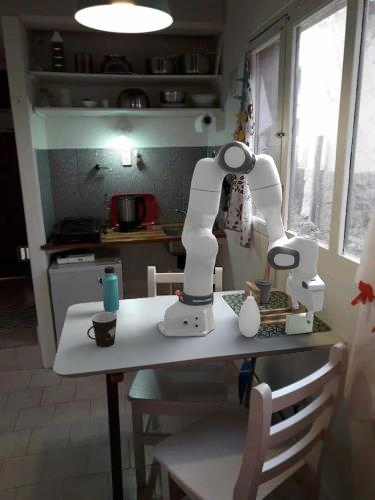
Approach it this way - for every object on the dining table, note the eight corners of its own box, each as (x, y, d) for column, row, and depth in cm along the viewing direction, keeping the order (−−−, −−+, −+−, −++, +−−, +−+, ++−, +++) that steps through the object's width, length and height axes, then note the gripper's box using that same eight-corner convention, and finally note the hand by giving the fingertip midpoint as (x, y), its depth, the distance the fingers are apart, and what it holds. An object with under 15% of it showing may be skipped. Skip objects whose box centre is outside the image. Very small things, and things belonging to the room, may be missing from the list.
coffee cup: (257, 304, 170) (258, 283, 168) (250, 298, 178) (251, 278, 175) (274, 303, 172) (275, 282, 169) (267, 297, 179) (268, 277, 177)
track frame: (253, 326, 149) (255, 290, 145) (243, 316, 158) (245, 282, 154) (303, 321, 154) (307, 286, 150) (291, 311, 163) (294, 278, 160)
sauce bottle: (236, 331, 144) (238, 286, 140) (257, 331, 145) (259, 286, 140) (239, 341, 137) (241, 294, 133) (261, 341, 137) (264, 294, 133)
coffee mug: (112, 335, 140) (111, 310, 138) (121, 345, 133) (120, 318, 131) (81, 343, 134) (79, 317, 132) (89, 354, 127) (87, 326, 125)
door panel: (289, 335, 142) (290, 318, 140) (285, 331, 145) (286, 314, 143) (313, 332, 144) (314, 315, 142) (308, 329, 147) (310, 312, 145)
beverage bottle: (122, 313, 159) (120, 267, 155) (107, 317, 156) (105, 270, 151) (115, 308, 165) (113, 264, 160) (101, 311, 161) (98, 266, 156)
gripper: (282, 270, 148) (280, 303, 152) (311, 288, 129) (309, 325, 133) (297, 269, 150) (295, 302, 153) (328, 286, 131) (325, 323, 134)
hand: (301, 313), depth 143 cm, fingers open, 8 cm apart
